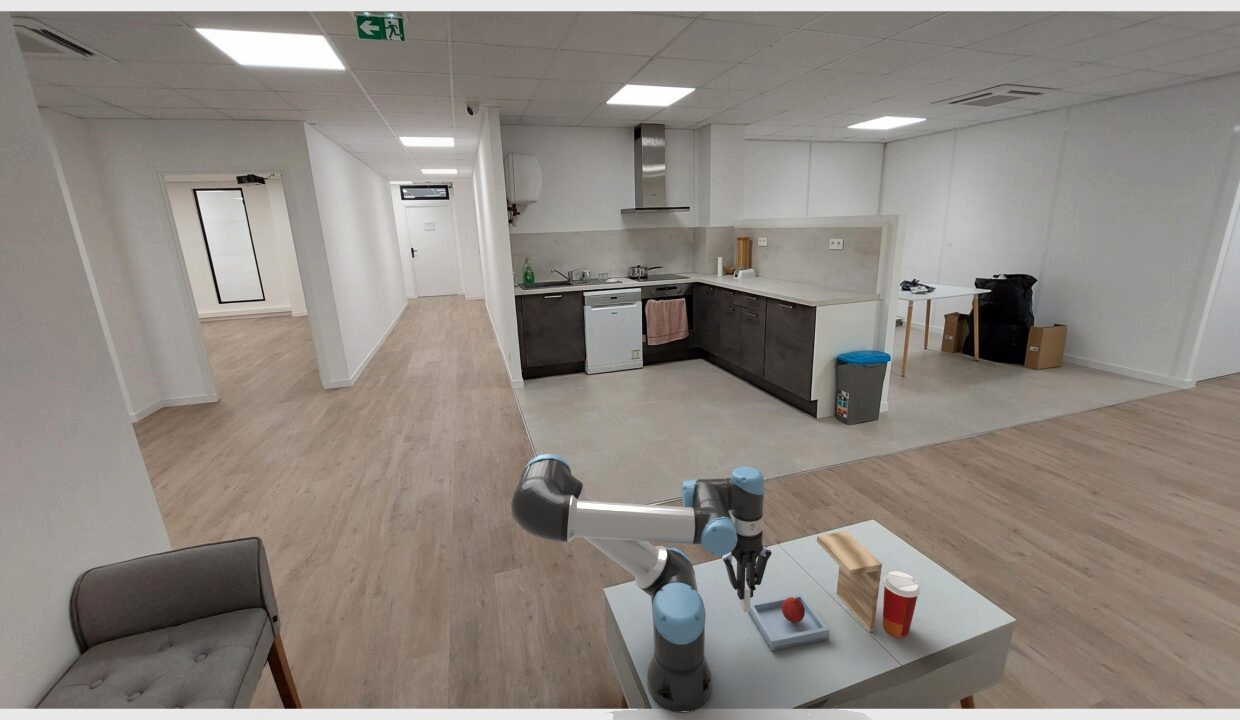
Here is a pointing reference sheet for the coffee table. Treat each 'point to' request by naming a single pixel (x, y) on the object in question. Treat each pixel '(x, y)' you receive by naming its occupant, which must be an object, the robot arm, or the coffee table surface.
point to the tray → (787, 624)
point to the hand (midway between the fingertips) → (744, 607)
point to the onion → (793, 609)
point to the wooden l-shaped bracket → (855, 575)
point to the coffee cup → (899, 603)
